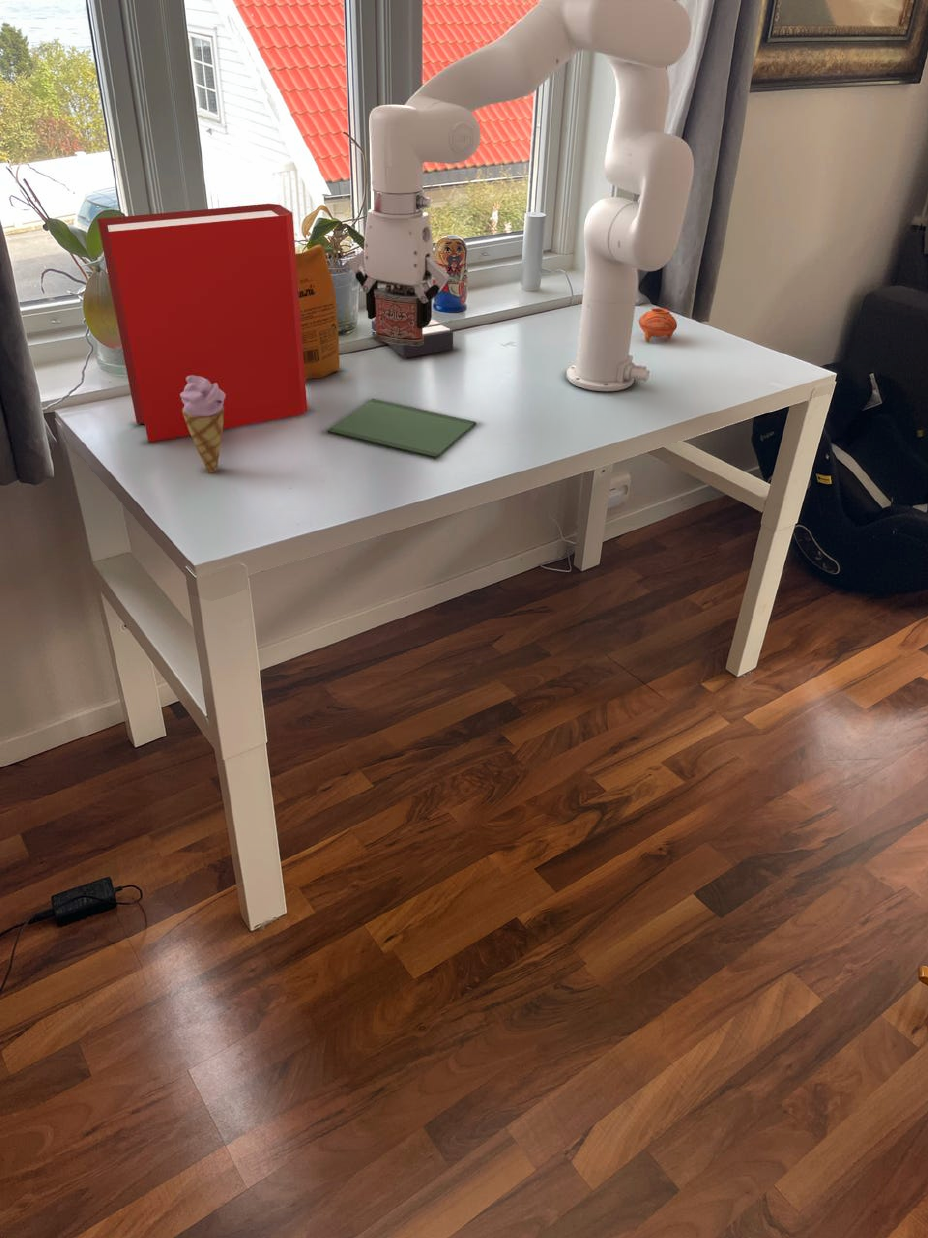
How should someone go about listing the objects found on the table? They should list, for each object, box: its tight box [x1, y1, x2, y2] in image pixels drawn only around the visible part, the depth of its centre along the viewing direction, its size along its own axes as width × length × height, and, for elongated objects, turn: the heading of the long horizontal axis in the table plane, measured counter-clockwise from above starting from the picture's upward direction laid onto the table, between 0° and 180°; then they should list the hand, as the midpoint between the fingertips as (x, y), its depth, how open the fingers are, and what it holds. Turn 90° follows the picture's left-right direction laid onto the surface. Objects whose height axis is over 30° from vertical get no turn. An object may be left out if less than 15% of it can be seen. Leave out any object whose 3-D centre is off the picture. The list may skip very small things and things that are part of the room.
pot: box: [638, 307, 678, 343], centre depth 193 cm, size 8×8×7 cm
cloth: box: [326, 398, 477, 460], centre depth 156 cm, size 20×15×1 cm
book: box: [97, 203, 308, 444], centre depth 148 cm, size 27×8×32 cm, turn 118°
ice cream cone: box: [180, 375, 226, 474], centre depth 138 cm, size 7×6×15 cm
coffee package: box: [295, 244, 341, 380], centre depth 169 cm, size 10×12×22 cm
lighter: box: [374, 281, 424, 346], centre depth 146 cm, size 8×3×10 cm, turn 70°
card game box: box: [371, 317, 454, 358], centre depth 188 cm, size 11×4×15 cm
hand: (398, 320), depth 147 cm, fingers closed on lighter, 8 cm apart
